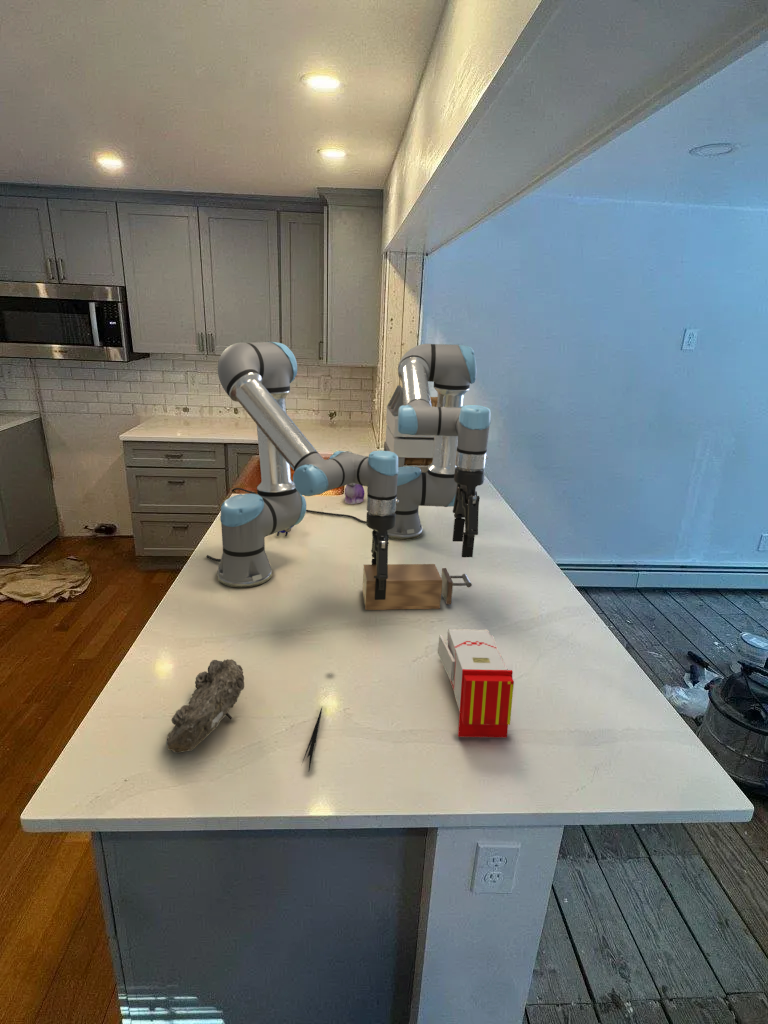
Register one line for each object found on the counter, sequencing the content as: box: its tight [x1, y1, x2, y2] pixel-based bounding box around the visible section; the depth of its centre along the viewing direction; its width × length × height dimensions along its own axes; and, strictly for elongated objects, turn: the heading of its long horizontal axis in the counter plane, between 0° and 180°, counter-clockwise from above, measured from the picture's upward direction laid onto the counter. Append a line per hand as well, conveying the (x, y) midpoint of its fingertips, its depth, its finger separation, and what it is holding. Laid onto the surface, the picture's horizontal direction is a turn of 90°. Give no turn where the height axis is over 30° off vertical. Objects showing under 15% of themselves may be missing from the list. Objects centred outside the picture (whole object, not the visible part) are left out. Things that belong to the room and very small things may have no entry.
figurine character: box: [276, 526, 295, 537], centre depth 197 cm, size 7×8×15 cm
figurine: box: [343, 483, 366, 505], centre depth 228 cm, size 9×10×15 cm
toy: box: [437, 628, 515, 738], centre depth 117 cm, size 12×13×30 cm
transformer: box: [383, 384, 438, 467], centre depth 268 cm, size 34×33×41 cm
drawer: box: [440, 567, 473, 605], centre depth 154 cm, size 24×9×7 cm, turn 96°
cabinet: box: [362, 563, 442, 611], centre depth 153 cm, size 20×10×8 cm, turn 96°
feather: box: [301, 673, 332, 771], centre depth 108 cm, size 2×28×2 cm
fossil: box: [166, 658, 245, 754], centre depth 106 cm, size 22×10×15 cm
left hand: (378, 589), depth 153 cm, fingers closed on cabinet, 10 cm apart
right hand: (462, 548), depth 151 cm, fingers open, 10 cm apart
